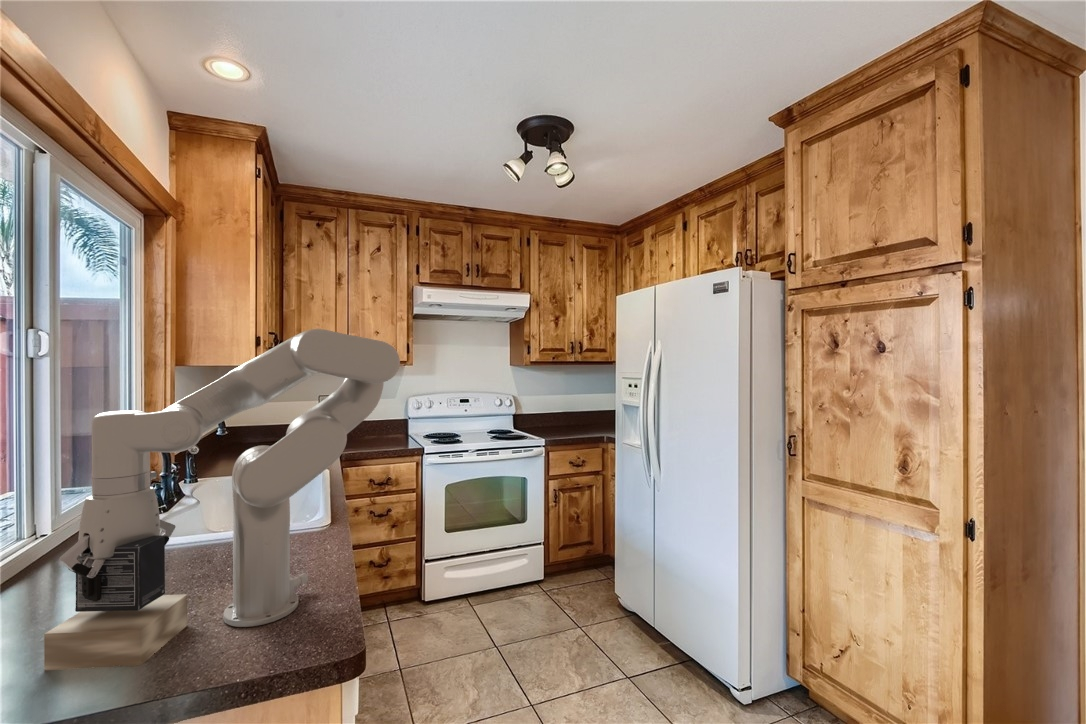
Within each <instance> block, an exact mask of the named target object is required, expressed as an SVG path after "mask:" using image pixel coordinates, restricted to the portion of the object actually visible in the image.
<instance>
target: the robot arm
mask: <svg viewBox="0 0 1086 724" xmlns="http://www.w3.org/2000/svg"><path fill="white" fill-rule="evenodd" d="M400 360H401V358H400V355H399V353H398V351H397V349H396V348H395V347H394V346H393V345H391V344H389V343H388V342H386V341H383V340H377V339H372V338H367V337H364V336H363V337H361V336H357V335H356V336H355V335H352V334H346V333H342V332H339V331H338V332H337V331H333V330H328V329H322V328H312V329H309V330H305V331H302V332H300V333H298V334H296V335H294V336H291V337H290V338H288V339H287V340H285V341H282V342H281V343H280V344H279V343H278V344H277V345H276V346H274V347H272V348H270V349H268V350H266V351H265V352H263V353H261V354H259V355H258V356H255V357H254V358H252V359H250V360H248V361H246V362H244V363H243V364H241V365H238V367H235V368H234V369H232V370H230V371H229V372H228V373H226V374H225V375H223V376H221V377H220V378H218V379H216V380H215V381H213V382H211V383H210V384H208V385H206V386H205V385H204V387H202V388H201V389H198V390H197V391H195V392H193V393H191V394H189V395H187V396H185V397H184V398H182V399H180V400H177V402H175V403H173V404H171V405H169V406H168V407H165V408H164V409H162V410H161V411H155V412H153V411H152V412H145V411H143V410H134V409H132V410H111V411H104V412H100V413H98V414H97V415H94V417H93V418H92V421H91V496H87V497H86V498H85V499H84V502H83V506H82V509H81V516H80V521H79V528H78V529H79V530H78V540H77V542H76V543H75V544H74V545H72V546H71V547H70V548H68V550H66V551H65V552H64V553H63V554H62V555H61V556H59V559H58V561H59V563H60V564H62V565H63V566H64V567H65V568H67V569H68V570H69V571H70V572H73V573H74V574H75V575H76V574H78V575H80V576H82V595H83V597H84V598H85V599H87V600H91V601H95V602H96V601H99V600H100V599H101V576H100V575H97V573H98V571H99V570H100V568H101V566H102V565H103V563H104V561H105V560H106V559H108V558H111V557H112V556H113V554H114V549H115V548H116V547H118V546H121V545H124V544H127V543H131V542H134V541H137V540H141V539H144V538H148V537H152V536H160V535H165V546H166V545H167V544H168V543H169V541H170V537H171V536H172V534H173V533H174V531H175V529H176V525H175V524H173V523H171V522H168V521H165V520H162V519H160V518H161V517H160V510H159V503H158V502H159V501H158V498H157V494H156V491H155V488H154V487H153V486H151V485H152V480H155V479H157V478H158V472H157V471H156V470H155V471H152V470H151V453H180V452H185V451H187V450H189V449H192V448H193V447H195V446H196V445H197V444H199V442H200V440H201V439H202V436H203V434H204V433H206V432H208V431H209V430H210V429H212V428H214V427H216V426H218V425H219V424H221V423H222V422H224V421H226V420H228V419H230V418H232V417H234V416H236V415H238V414H239V413H242V412H245V411H247V410H251V409H255V408H258V407H261V406H263V405H265V404H267V403H270V402H271V401H273V400H275V399H276V398H278V397H280V396H281V395H283V394H285V393H286V392H288V391H289V390H291V389H293V388H295V387H296V386H298V385H299V384H302V383H303V382H304V381H305V382H306V381H307V380H308V379H309V378H311V377H313V376H315V375H317V374H321V375H326V376H331V377H337V378H341V379H342V378H343V379H344V380H343V382H342V383H341V385H340V386H339V387H338V388H336V389H335V390H334V391H333V392H332V393H330V394H329V395H328V396H327V397H325V398H324V399H322V401H319V403H317V404H315V405H314V406H313V407H311V408H309V409H308V410H306V411H305V412H304V413H302V414H301V415H299V416H297V417H296V418H295V419H294V420H293V421H291V422H290V424H289V425H288V427H287V429H286V432H285V436H283V437H282V438H280V439H279V440H278V441H277V442H275V443H274V444H272V445H262V444H261V445H257V446H256V445H255V446H253V447H250V448H248V449H245V451H243V452H242V453H241V454H240V455H239V456H238V457H237V459H236V460H235V462H234V464H233V467H232V473H231V474H232V475H231V485H232V510H233V511H232V514H233V515H232V517H233V518H232V520H233V521H232V523H233V526H232V527H233V528H232V529H233V533H232V603H230V604H229V605H227V607H226V608H225V609H224V610H223V613H222V615H223V616H222V617H223V622H224V623H225V624H227V625H229V626H232V627H237V628H248V627H249V628H251V627H257V626H258V627H259V626H262V625H267V624H270V623H273V622H276V621H278V620H280V619H283V618H285V617H287V616H288V615H290V614H291V613H292V612H294V611H295V610H296V609H297V607H298V606H299V596H298V595H297V593H296V592H295V590H296V589H297V588H298V586H301V585H303V584H305V583H307V582H308V581H309V575H308V573H306V572H302V573H301V574H299V575H297V576H295V577H294V576H293V575H292V574H290V570H291V569H290V567H291V566H290V565H291V562H290V561H291V559H290V557H291V556H290V555H291V554H290V553H291V549H290V548H291V547H290V543H291V541H290V539H291V537H290V535H291V534H290V533H291V532H290V531H291V530H290V529H291V528H290V527H291V505H290V504H291V503H290V498H291V497H292V496H294V495H295V494H296V493H298V492H299V491H301V490H302V489H303V488H305V487H306V486H307V485H308V484H309V483H311V482H312V481H313V480H314V479H316V477H318V476H319V475H321V474H322V473H323V472H325V471H326V470H327V469H328V468H330V467H331V466H332V465H333V464H334V463H335V462H336V461H338V459H339V458H340V457H341V455H342V454H343V452H344V450H345V448H346V445H347V441H348V434H349V433H351V431H353V430H354V429H355V428H357V426H359V425H360V424H361V423H363V422H364V420H366V418H368V417H369V416H370V415H371V414H372V413H373V411H375V409H376V407H377V406H378V405H379V402H380V399H381V397H382V394H383V389H384V384H385V382H388V381H389V380H391V379H392V378H394V377H395V376H396V375H397V373H398V371H399V369H400V365H401V361H400ZM88 547H90V550H91V551H90V552H89V553H86V554H83V551H84V550H85V549H87V548H88ZM87 554H88V556H87V557H86V556H84V555H87ZM79 555H80V556H82V557H86V559H85V561H84V562H83V564H81V563H80V562H79V561H78V560H77V557H78V556H79Z"/></svg>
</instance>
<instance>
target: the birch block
mask: <svg viewBox="0 0 1086 724" xmlns="http://www.w3.org/2000/svg"><path fill="white" fill-rule="evenodd" d="M187 626H188V594H187V593H184V594H181V593H180V594H164V595H162V596H161V597H159V598H158V599H156V600H154V601H153V602H151V603H149V604H148V605H146V606H145V607H143V608H142V609H140V610H138V611H88V612H87V611H86V612H77V613H76V614H75V615H72V616H71V617H69V618H67V619H66V620H65V621H63V622H61V623H60V624H58V625H56V626H55V627H52V629H50V630H48V631H46V632H45V633H44V637H43V639H44V640H43V642H44V643H43V644H44V645H43V646H44V649H43V650H44V653H43V655H44V657H43V658H44V661H43V664H44V669H43V670H44V671H55V670H56V671H58V670H75V669H77V668H79V669H95V668H96V667H99V668H115V667H116V668H117V667H118V666H120V667H132V666H133V667H136V666H142V665H143V664H144V663H146V662H147V660H149V659H150V658H151V657H152V656H153V655H155V654H156V653H157V652H158V651H160V650H161V647H162V648H163V647H164V646H165V645H166V644H167V643H169V642H170V641H172V639H173V638H175V637H176V636H177V635H179V633H180V632H181V631H183V630H184V629H185V628H186V627H187ZM168 641H169V642H168ZM154 653H155V654H154ZM92 667H94V668H92Z"/></svg>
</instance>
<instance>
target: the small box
mask: <svg viewBox="0 0 1086 724" xmlns="http://www.w3.org/2000/svg"><path fill="white" fill-rule="evenodd" d="M165 546H166V545H165V535H160V536H152V537H148V538H144V539H141V540H137V541H134V542H131V543H127V544H124V545H121V546H118V547H116V548H115V549H114V554H113V556H112V557H111V558H108V559H106V560H105V561H104V563H103V565H102V566H101V568H100V570H99V571H98V573H97V575H100V576H101V599H100V600H99V601H96V602H95V601H91V600H87V599H85V598H84V597H83V595H82V576H80V575H78V574H76V573H75V607H74V608H75V609H74V610H75V612H77V613H79V612H86V611H87V612H88V611H138V610H140V609H142V608H143V607H145V606H146V605H148V604H149V603H151V602H153V601H154V600H156V599H158V598H159V597H161V596H162V595H166V567H165V566H166V564H165V563H166V558H165V557H166V551H165V550H166V548H165ZM90 551H91V550H90V547H88V548H87V549H85V550H84V551H83V554H86V553H89V552H90ZM84 556H86V557H87V556H88V554H87V555H84ZM86 557H82V556H80V555H79V556H78V557H77V560H78V561H79V562H80V563H81V564H83V562H84V561H85V559H86Z"/></svg>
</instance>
